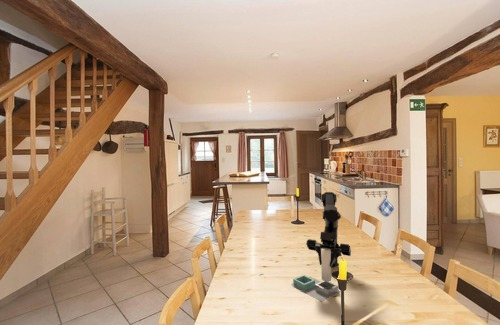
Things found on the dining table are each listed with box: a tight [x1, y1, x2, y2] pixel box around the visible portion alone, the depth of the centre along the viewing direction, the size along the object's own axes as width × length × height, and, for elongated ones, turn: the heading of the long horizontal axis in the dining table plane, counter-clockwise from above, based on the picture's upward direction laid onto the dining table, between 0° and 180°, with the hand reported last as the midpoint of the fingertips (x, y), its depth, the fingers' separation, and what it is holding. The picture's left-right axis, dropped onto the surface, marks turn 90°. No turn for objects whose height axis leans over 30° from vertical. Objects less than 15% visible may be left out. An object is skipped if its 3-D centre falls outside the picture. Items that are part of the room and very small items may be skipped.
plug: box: [320, 248, 332, 282], centre depth 114 cm, size 4×4×13 cm
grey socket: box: [315, 280, 339, 297], centre depth 115 cm, size 7×7×2 cm
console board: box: [290, 276, 342, 303], centre depth 118 cm, size 18×13×1 cm
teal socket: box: [292, 274, 315, 290], centre depth 120 cm, size 7×7×2 cm
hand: (325, 265), depth 113 cm, fingers closed on plug, 4 cm apart
